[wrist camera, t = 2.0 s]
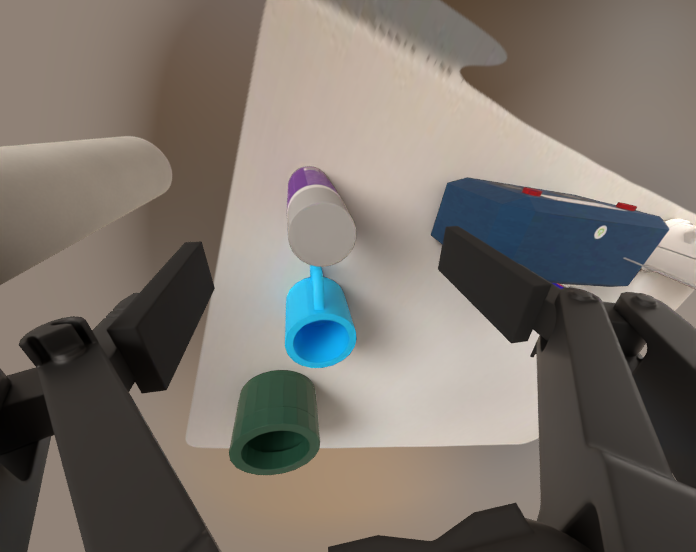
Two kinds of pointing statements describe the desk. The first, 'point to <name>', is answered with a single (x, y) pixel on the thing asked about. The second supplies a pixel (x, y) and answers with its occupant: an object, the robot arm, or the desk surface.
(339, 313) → the mug
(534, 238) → the radio
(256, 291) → the desk surface
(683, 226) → the cup
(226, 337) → the desk surface
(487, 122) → the desk surface
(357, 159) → the desk surface
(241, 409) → the jar
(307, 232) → the container
